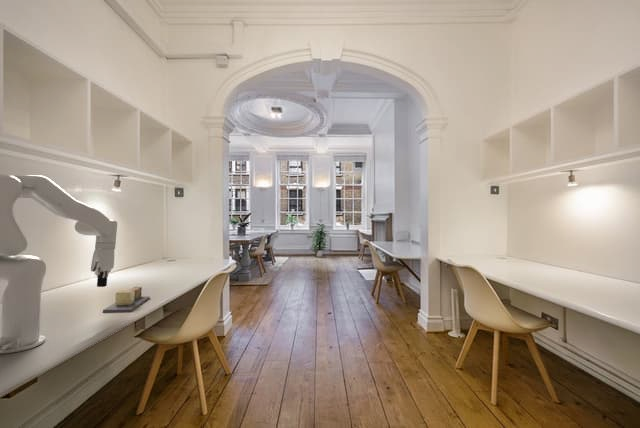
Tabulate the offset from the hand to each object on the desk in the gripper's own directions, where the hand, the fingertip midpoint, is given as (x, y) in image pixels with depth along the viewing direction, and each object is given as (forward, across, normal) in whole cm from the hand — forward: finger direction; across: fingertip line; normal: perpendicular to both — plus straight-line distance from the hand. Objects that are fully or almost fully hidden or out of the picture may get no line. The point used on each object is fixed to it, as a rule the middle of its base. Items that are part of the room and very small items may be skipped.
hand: (101, 286), depth 131 cm
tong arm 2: (+11, -19, +6) cm, 23 cm away
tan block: (+11, -12, +5) cm, 17 cm away
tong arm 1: (+11, -19, +4) cm, 22 cm away
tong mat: (+12, -16, +5) cm, 21 cm away
